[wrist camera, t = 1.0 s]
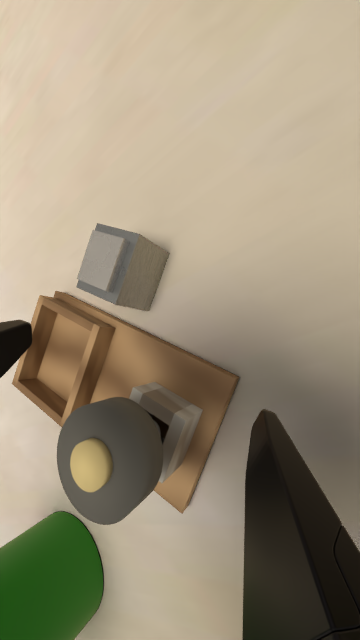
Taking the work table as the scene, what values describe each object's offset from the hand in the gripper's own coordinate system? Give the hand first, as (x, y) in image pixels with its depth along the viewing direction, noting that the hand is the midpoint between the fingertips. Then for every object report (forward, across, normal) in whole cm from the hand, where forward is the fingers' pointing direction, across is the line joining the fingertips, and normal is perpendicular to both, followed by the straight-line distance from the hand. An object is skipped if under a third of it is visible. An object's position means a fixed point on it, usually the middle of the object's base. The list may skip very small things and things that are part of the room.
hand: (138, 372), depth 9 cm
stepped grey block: (+17, +6, +3) cm, 18 cm away
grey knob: (+6, 0, +11) cm, 12 cm away
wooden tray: (+12, +6, +13) cm, 18 cm away
